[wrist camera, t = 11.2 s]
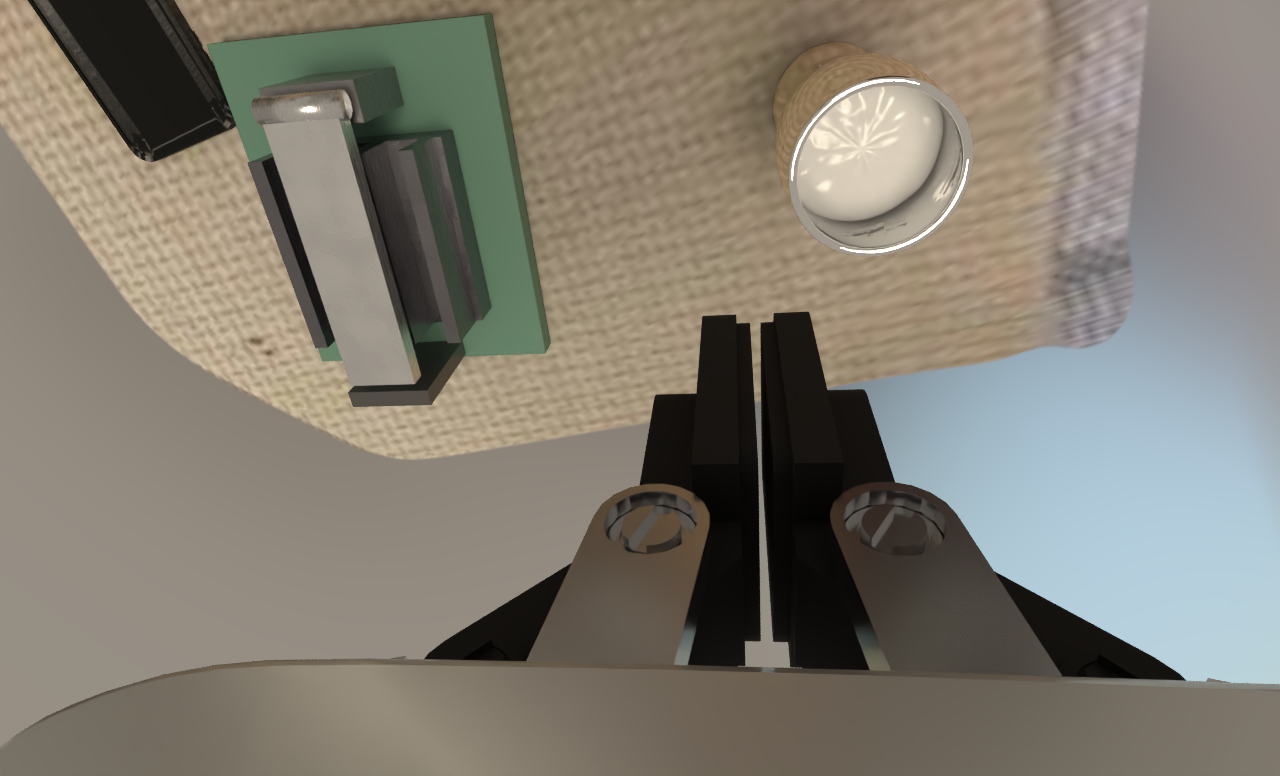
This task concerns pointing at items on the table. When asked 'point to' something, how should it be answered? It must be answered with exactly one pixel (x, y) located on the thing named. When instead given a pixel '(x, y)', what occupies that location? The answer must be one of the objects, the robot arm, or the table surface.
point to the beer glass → (868, 149)
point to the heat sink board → (411, 183)
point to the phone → (142, 70)
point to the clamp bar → (340, 232)
